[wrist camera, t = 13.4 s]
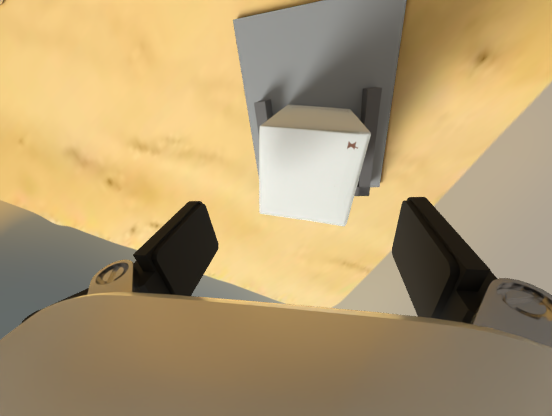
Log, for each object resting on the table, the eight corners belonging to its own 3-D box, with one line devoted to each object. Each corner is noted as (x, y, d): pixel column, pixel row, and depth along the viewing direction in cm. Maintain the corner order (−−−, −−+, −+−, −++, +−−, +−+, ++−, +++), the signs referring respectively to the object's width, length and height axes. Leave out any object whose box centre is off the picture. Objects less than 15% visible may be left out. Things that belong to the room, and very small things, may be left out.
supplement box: (286, 102, 24) (257, 120, 14) (352, 108, 23) (376, 131, 13) (281, 164, 28) (256, 215, 17) (338, 171, 27) (347, 229, 16)
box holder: (235, 21, 22) (220, 11, 19) (406, -15, 18) (423, -35, 15) (262, 187, 31) (255, 199, 28) (378, 184, 28) (385, 197, 25)
